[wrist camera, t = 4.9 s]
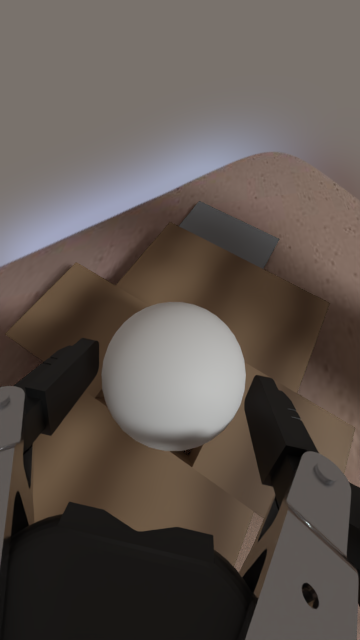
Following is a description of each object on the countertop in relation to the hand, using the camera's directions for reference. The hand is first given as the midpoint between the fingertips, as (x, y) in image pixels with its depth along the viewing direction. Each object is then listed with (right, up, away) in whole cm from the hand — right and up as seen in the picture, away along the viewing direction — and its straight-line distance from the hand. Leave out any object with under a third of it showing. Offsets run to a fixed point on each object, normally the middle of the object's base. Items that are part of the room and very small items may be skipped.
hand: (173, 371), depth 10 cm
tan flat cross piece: (0, -2, +6) cm, 7 cm away
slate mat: (+4, +10, +11) cm, 16 cm away
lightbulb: (0, -3, +6) cm, 7 cm away
